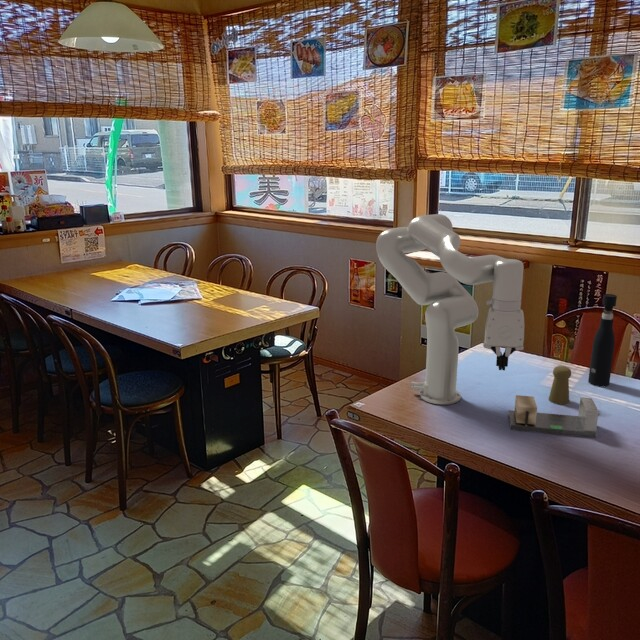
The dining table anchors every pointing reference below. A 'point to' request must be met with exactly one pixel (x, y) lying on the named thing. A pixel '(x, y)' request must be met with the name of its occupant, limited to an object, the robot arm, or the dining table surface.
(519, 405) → the block
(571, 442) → the dining table surface
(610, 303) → the black water bottle
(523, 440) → the dining table surface
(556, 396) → the olive brown pawn
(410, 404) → the dining table surface
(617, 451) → the dining table surface
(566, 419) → the gauge rail
